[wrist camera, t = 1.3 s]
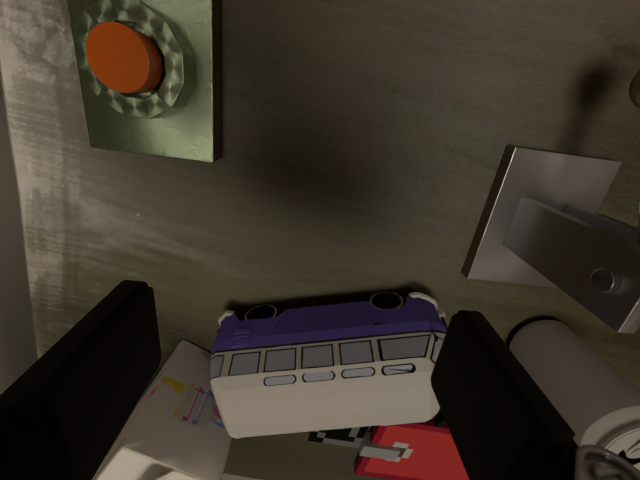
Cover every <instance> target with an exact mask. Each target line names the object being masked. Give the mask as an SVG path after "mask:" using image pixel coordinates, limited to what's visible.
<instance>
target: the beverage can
mask: <svg viewBox="0 0 640 480" xmlns="http://www.w3.org/2000/svg"><path fill="white" fill-rule="evenodd" d="M509 349H510V350H511V352H512V353H513V354H514V356H515V357H516V358H517V359H518V361H519V362H520V363H521V365H522V366H523V367H524V368H525V370H526V371H527V372H528V374H529V375H530V376H531V377H532V379H533V380H534V381H535V383H536V384H537V385H538V386H539V388H540V389H541V390H542V392H543V393H544V394H545V395H546V397H547V398H548V399H549V401H550V402H551V403H552V404H553V406H554V407H555V408H556V410H557V411H558V412H559V413H560V415H561V416H562V417H563V419H564V420H565V421H566V422H567V424H568V425H569V426H570V428H571V429H572V430H573V431H574V433H575V434H576V435H575V436H574V438H573V439H574V440H575V442H576V443H577V444H578V445H579V447H580V446H582V445H589V444H592V445H596V446H600V447H603V448H605V449H608V450H610V451H612V452H614V453H616V454H617V455H619V456H620V457H622V458H624V459H625V460H627V461H628V462H629V463H631V464H632V465H633V466H634V467H635V468H637V469H638V470H639V471H640V390H639V389H638V388H636V387H635V386H634V385H633V384H632V383H631V382H630V381H628V380H627V379H626V378H625V377H624V376H623V375H622V374H621V373H619V372H618V371H617V370H616V369H615V368H614V367H613V366H611V365H610V364H609V363H608V362H607V361H606V360H605V359H604V358H602V357H601V356H600V355H599V354H598V353H597V352H596V351H594V350H593V349H592V348H591V347H590V346H589V345H588V344H587V343H585V342H584V341H583V340H582V339H581V338H580V337H579V336H577V335H576V334H575V333H574V332H573V331H572V330H571V329H570V328H568V327H567V326H566V325H565V324H563V323H561V322H559V321H555V320H540V321H534V322H531V323H529V324H527V325H525V326H524V327H522V328H521V329H520V330H519V331H518V332H517V333H516V334H515V336H514V337H513V338H512V340H511V342H510V345H509Z"/></svg>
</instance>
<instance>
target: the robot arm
mask: <svg viewBox="0 0 640 480" xmlns="http://www.w3.org/2000/svg"><path fill="white" fill-rule="evenodd" d="M160 360H161V349H160V340H159V332H158V324H157V316H156V308H155V299H154V292H153V289H152V288H151V287H148V285H147V283H146V282H142V281H130V280H124V281H122V282H121V283H120V284H119V285H118V286H117V287H116V288H114V289H113V290H112V291H111V292H110V293H109V294H108V295H107V296H106V297H105V298H104V299H103V300H102V301H101V302H99V303H98V304H97V305H96V306H95V307H94V308H93V309H92V310H91V311H90V312H89V313H88V314H87V315H86V316H85V317H83V318H82V319H81V320H80V321H79V322H78V323H77V324H76V325H75V326H74V327H73V328H72V329H71V330H70V331H68V332H67V333H66V334H65V335H64V336H63V337H62V338H61V339H60V340H59V341H58V342H57V343H56V344H55V345H54V346H52V347H51V348H50V349H49V350H48V351H47V352H46V353H45V354H44V355H43V356H42V357H41V358H40V359H39V360H37V361H36V363H34V364H33V365H32V366H31V367H30V368H29V369H28V370H27V371H26V372H25V373H24V374H23V375H22V376H20V377H19V378H18V379H17V380H16V381H15V382H14V383H13V384H12V385H11V386H10V387H9V388H8V389H6V390H5V392H3V394H1V395H0V480H92V478H93V476H94V475H95V473H96V471H97V470H98V468H99V466H100V465H101V463H102V461H103V460H104V458H105V456H106V455H107V453H108V451H109V449H110V448H111V446H112V444H113V443H114V441H115V439H116V438H117V436H118V434H119V433H120V431H121V429H122V427H123V426H124V424H125V422H126V421H127V419H128V417H129V416H130V414H131V412H132V411H133V409H134V407H135V405H136V404H137V402H138V400H139V399H140V397H141V395H142V394H143V392H144V390H145V388H146V387H147V385H148V383H149V382H150V380H151V378H152V377H153V375H154V373H155V372H156V370H157V368H158V366H159V364H160ZM431 386H432V389H433V391H434V394H435V396H436V399H437V401H438V404H439V406H440V409H441V411H442V414H443V416H444V419H445V421H446V424H447V426H448V428H449V431H450V433H451V436H452V438H453V441H454V443H455V446H456V448H457V451H458V453H459V456H460V458H461V461H462V463H463V466H464V468H465V470H466V473H467V475H468V478H469V480H640V471H639V470H638V469H637V468H635V467H634V466H633V465H632V464H631V463H629V462H628V461H627V460H625V459H624V458H622V457H620V456H619V455H617V454H616V453H614V452H612V451H610V450H608V449H605V448H603V447H600V446H596V445H592V444H589V445H582V446H580V447H579V446H578V445H577V444H576V442H575V441H574V440H573V438H574V436H575V435H576V434H575V433H574V431H573V430H572V429H571V428H570V426H569V425H568V424H567V422H566V421H565V420H564V419H563V417H562V416H561V415H560V413H559V412H558V411H557V410H556V408H555V407H554V406H553V404H552V403H551V402H550V401H549V399H548V398H547V397H546V395H545V394H544V393H543V392H542V390H541V389H540V388H539V386H538V385H537V384H536V383H535V381H534V380H533V379H532V377H531V376H530V375H529V374H528V372H527V371H526V370H525V368H524V367H523V366H522V365H521V363H520V362H519V361H518V359H517V358H516V357H515V356H514V354H513V353H512V352H511V350H510V349H509V348H508V347H507V345H506V344H505V343H504V341H503V340H502V339H501V338H500V336H499V335H498V334H497V332H496V331H495V330H494V329H493V327H492V326H491V325H490V323H489V322H488V321H487V320H486V318H485V317H484V316H483V315H482V314H481V313H480V312H478V311H467V310H460V311H459V312H458V313H457V314H454V315H453V316H452V318H451V321H450V323H449V326H448V329H447V332H446V335H445V337H444V340H443V343H442V346H441V349H440V352H439V354H438V357H437V360H436V363H435V366H434V368H433V371H432V374H431Z"/></svg>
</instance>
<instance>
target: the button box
mask: <svg viewBox="0 0 640 480" xmlns="http://www.w3.org/2000/svg"><path fill="white" fill-rule="evenodd" d="M67 3H68V10H69V16H70V22H71V28H72V34H73V41H74V47H75V53H76V59H77V65H78V72H79V78H80V84H81V90H82V96H83V103H84V109H85V115H86V121H87V127H88V133H89V140H90V146H91V147H92V148H100V149H108V150H116V151H123V152H131V153H139V154H147V155H155V156H163V157H171V158H179V159H187V160H195V161H202V162H210V163H214V162H215V161H217V160H219V159H221V110H222V0H67ZM109 21H111V22H117V23H120V24H123V25H126V26H128V27H131V28H133V29H135V30H138V31H140V32H142V33H143V34H145V35H146V36H147V37H148V38H149V39H150V40H151V41H152V42H153V43H154V44H155V46H156V48H157V49H158V51H159V53H160V56H161V60H162V66H163V71H162V76H161V79H160V82H159V83H158V85H157V86H156V87H155V88H154V89H153V90H151V91H149V92H147V93H141V94H138V93H122V92H117V91H114V90H112V89H110V88H108V87H107V86H105V85H104V84H103V83H102V82H101V81H100V80H99V79H98V78H97V77H96V76H95V74H94V73H93V72H92V70H91V68H90V66H89V64H88V61H87V57H86V50H85V47H86V40H87V37H88V34H89V33H90V31H91V30H92V29H93V28H94V27H95V26H96V25H98V24H100V23H103V22H109Z"/></svg>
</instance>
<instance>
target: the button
mask: <svg viewBox="0 0 640 480" xmlns="http://www.w3.org/2000/svg"><path fill="white" fill-rule="evenodd" d="M85 50H86V57H87V61H88V64H89V66H90V68H91V70H92V72H93V73H94V74H95V76H96V77H97V78H98V79H99V80H100V81H101V82H102V83H103V84H104V85H105V86H107V87H108V88H110V89H112V90H114V91H117V92H122V93H138V94H141V93H147V92H149V91H151V90H153V89H154V88H155V87H156V86H157V85H158V83H159V82H160V79H161V76H162V71H163V66H162V60H161V56H160V53H159V51H158V49H157V48H156V46H155V44H154V43H153V42H152V41H151V40H150V39H149V38H148V37H147V36H146V35H145V34H143V33H142V32H140V31H138V30H135V29H133V28H131V27H128V26H126V25H123V24H120V23H117V22H111V21H109V22H103V23H100V24H98V25H96V26H95V27H94V28H93V29H92V30H91V31H90V33H89V34H88V37H87V40H86V47H85Z"/></svg>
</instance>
